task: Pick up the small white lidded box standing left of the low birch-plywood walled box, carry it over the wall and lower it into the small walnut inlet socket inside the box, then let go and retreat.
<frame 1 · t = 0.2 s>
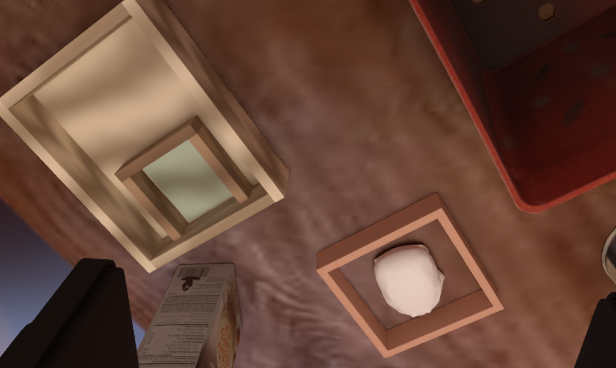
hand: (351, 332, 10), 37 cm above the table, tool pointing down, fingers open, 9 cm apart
garlic: (407, 270, 55), resting in garlic dish
coffee box: (212, 294, 58), on the table
garlic dish: (407, 271, 54), on the table
walled box: (159, 131, 49), on the table
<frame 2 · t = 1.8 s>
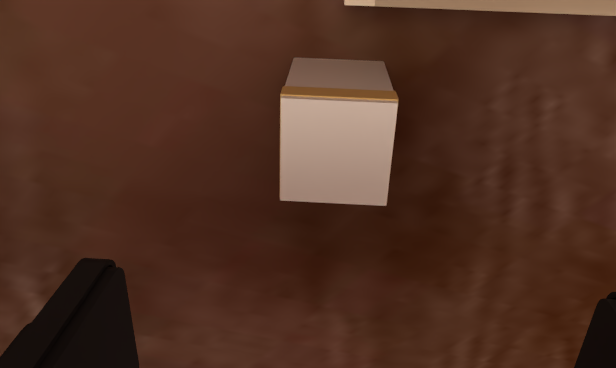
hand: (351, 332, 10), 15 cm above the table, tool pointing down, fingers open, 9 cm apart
small white lidded box: (336, 102, 24), on the table
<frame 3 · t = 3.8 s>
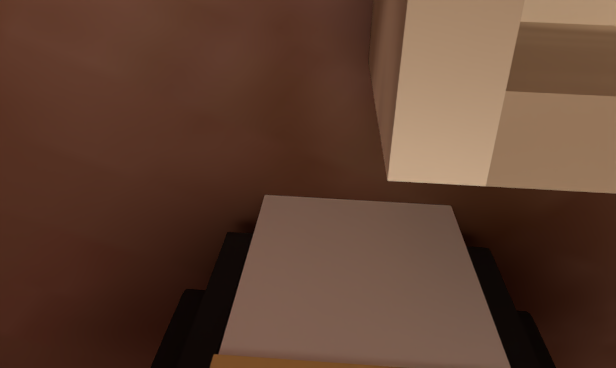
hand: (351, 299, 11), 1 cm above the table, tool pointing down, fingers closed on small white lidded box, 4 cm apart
small white lidded box: (350, 275, 12), on the table, touching gripper
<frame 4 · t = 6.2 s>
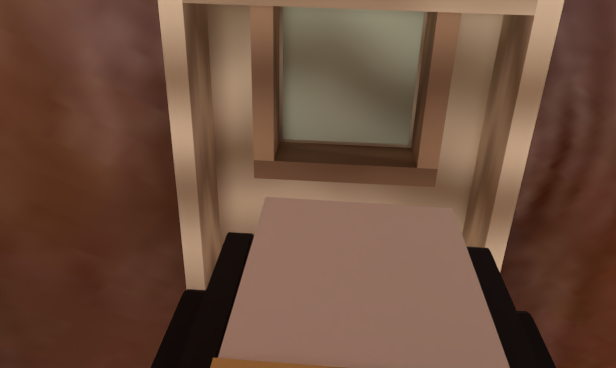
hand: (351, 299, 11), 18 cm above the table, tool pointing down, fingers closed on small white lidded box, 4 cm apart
small white lidded box: (351, 277, 12), point 17 cm above the table, touching gripper
walled box: (343, 162, 29), on the table
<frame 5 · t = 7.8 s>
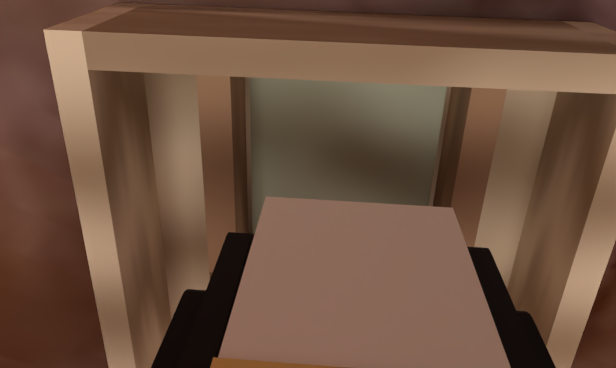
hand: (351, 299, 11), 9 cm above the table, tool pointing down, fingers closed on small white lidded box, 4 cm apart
small white lidded box: (352, 277, 12), point 9 cm above the table, touching gripper
walled box: (334, 257, 22), on the table
when the fingers open (4 cm above the table, at t = 9.1 s): small white lidded box drops 2 cm, resting on walled box.
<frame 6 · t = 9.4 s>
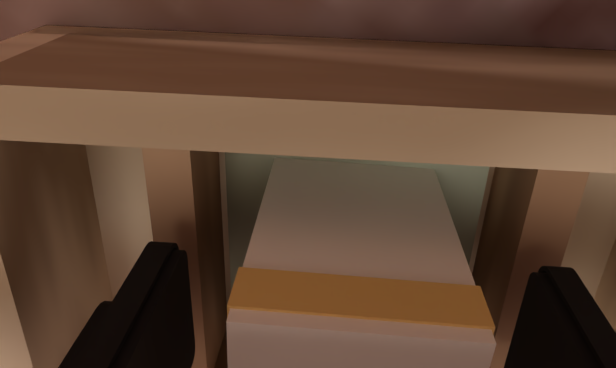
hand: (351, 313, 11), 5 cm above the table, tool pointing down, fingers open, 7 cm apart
small white lidded box: (347, 230, 14), point 1 cm above the table, touching walled box
walled box: (339, 343, 17), on the table
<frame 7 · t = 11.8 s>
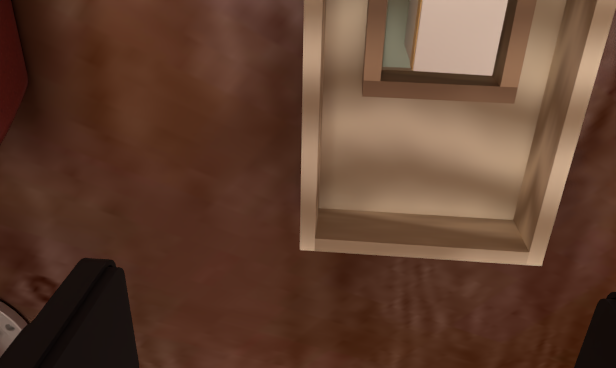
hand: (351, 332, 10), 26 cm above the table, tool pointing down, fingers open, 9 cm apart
small white lidded box: (442, 12, 31), point 1 cm above the table, touching walled box
walled box: (429, 90, 35), on the table
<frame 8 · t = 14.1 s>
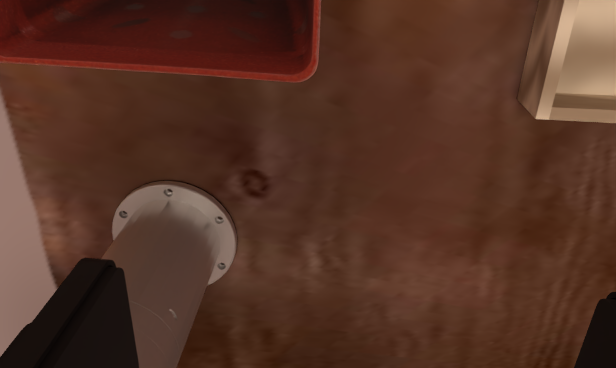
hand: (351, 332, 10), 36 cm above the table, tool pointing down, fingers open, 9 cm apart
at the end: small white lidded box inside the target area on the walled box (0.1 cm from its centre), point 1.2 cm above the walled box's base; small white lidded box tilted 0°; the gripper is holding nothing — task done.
